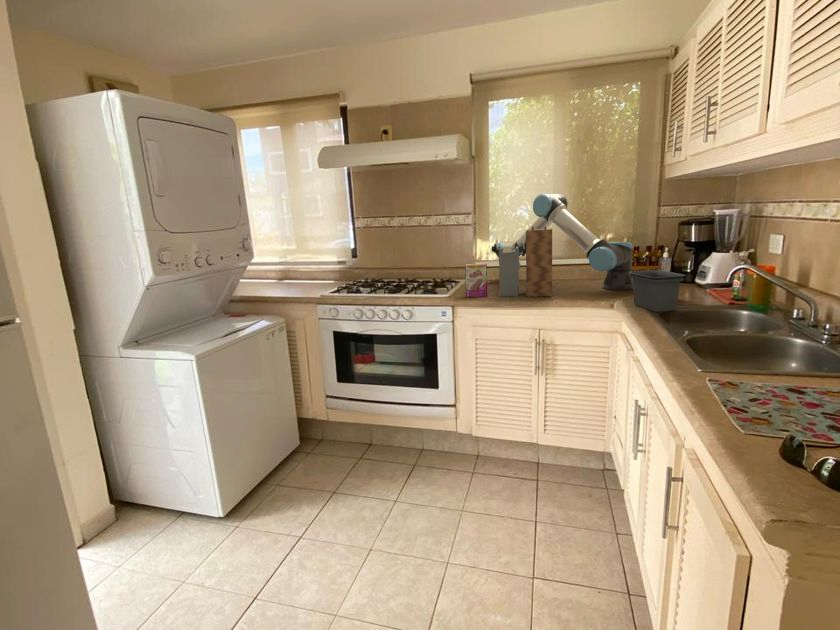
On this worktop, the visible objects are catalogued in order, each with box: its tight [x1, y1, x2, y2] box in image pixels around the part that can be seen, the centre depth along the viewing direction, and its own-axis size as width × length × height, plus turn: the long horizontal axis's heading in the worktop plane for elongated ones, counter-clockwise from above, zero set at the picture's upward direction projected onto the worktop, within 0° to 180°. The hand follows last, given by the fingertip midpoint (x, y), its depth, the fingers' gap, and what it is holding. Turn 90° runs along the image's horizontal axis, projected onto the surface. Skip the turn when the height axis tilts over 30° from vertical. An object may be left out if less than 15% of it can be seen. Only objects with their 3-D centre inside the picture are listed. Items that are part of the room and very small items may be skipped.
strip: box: [503, 242, 516, 253], centre depth 230 cm, size 4×22×3 cm, turn 165°
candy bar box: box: [464, 263, 488, 298], centre depth 231 cm, size 11×5×16 cm, turn 84°
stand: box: [525, 226, 553, 298], centre depth 224 cm, size 12×12×34 cm
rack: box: [498, 246, 520, 297], centre depth 232 cm, size 9×12×24 cm
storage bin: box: [629, 269, 686, 313], centre depth 184 cm, size 21×16×14 cm
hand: (509, 241), depth 235 cm, fingers open, 13 cm apart
